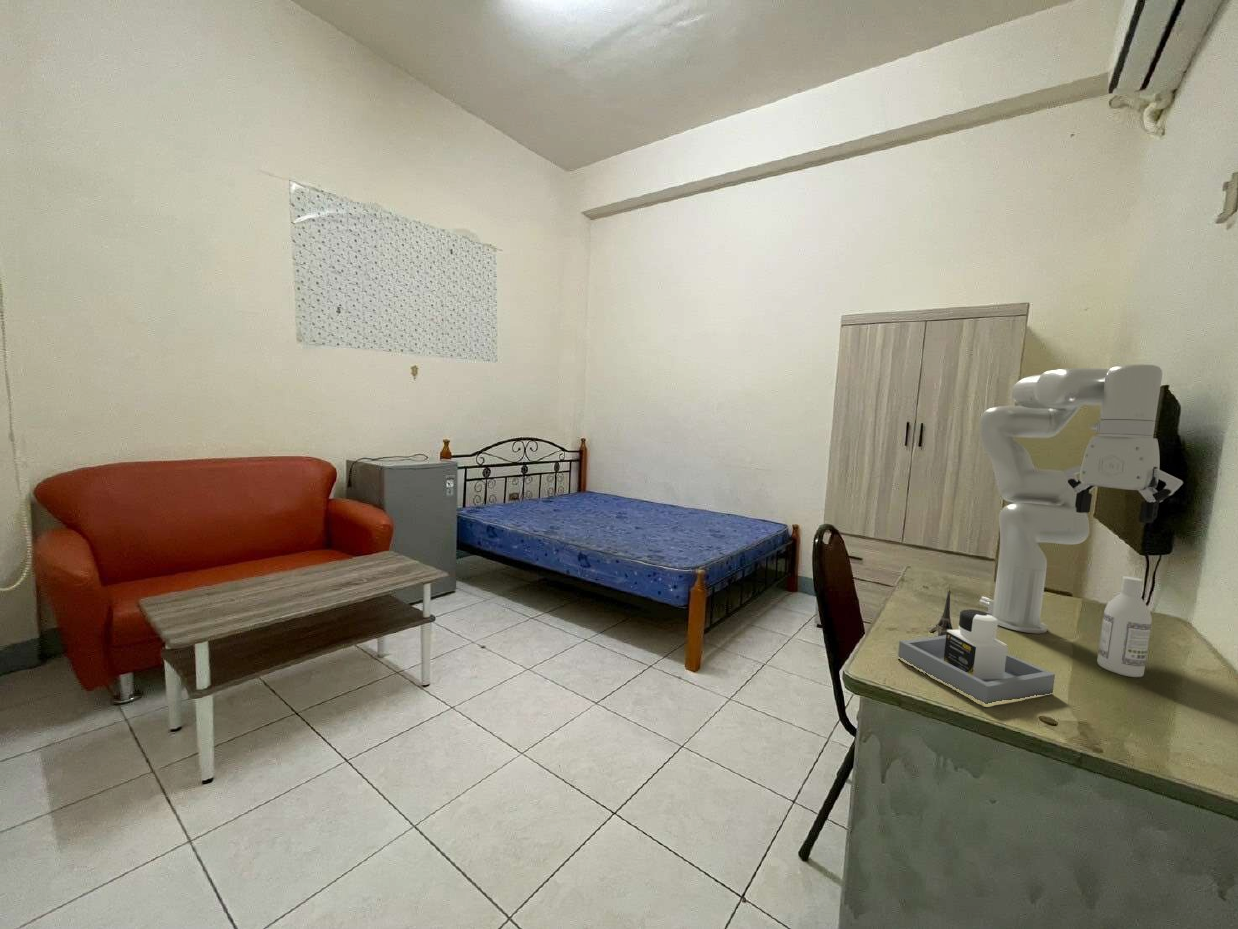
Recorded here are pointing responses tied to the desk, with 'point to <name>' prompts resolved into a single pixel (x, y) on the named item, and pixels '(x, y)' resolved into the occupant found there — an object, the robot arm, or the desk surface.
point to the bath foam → (1125, 631)
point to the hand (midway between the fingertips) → (1112, 517)
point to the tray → (1014, 685)
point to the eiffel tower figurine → (944, 619)
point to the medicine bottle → (976, 646)
